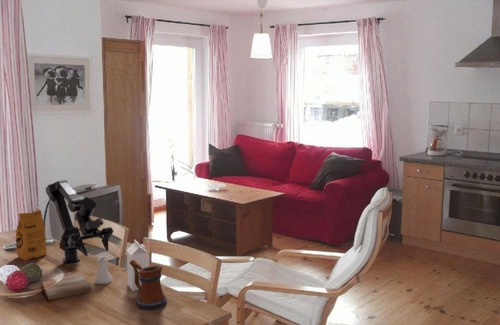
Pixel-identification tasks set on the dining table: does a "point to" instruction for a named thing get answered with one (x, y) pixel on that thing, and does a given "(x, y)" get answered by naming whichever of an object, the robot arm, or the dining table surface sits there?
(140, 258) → the milk carton
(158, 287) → the mug
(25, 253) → the coffee package
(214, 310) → the dining table surface
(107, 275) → the flask
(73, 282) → the walnut board
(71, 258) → the robot arm
